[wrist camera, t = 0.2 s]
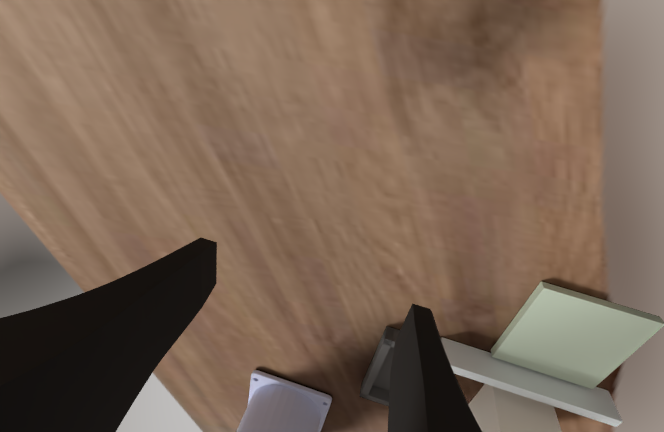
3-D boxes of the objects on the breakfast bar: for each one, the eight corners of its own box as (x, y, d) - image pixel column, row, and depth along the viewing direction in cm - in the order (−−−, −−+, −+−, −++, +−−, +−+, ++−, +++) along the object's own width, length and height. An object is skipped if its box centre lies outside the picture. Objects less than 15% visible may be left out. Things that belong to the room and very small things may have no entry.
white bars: (539, 449, 30) (546, 478, 28) (403, 402, 31) (401, 428, 29) (608, 390, 24) (623, 421, 23) (441, 337, 26) (442, 362, 24)
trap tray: (405, 398, 30) (404, 412, 29) (361, 383, 31) (359, 396, 30) (438, 342, 26) (438, 356, 25) (386, 326, 26) (385, 338, 25)
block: (520, 423, 29) (534, 486, 25) (467, 405, 29) (472, 464, 25) (550, 394, 26) (570, 459, 22) (490, 374, 27) (501, 435, 23)
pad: (589, 381, 24) (592, 389, 24) (490, 349, 25) (491, 356, 25) (659, 316, 21) (665, 324, 20) (541, 281, 21) (544, 287, 21)
